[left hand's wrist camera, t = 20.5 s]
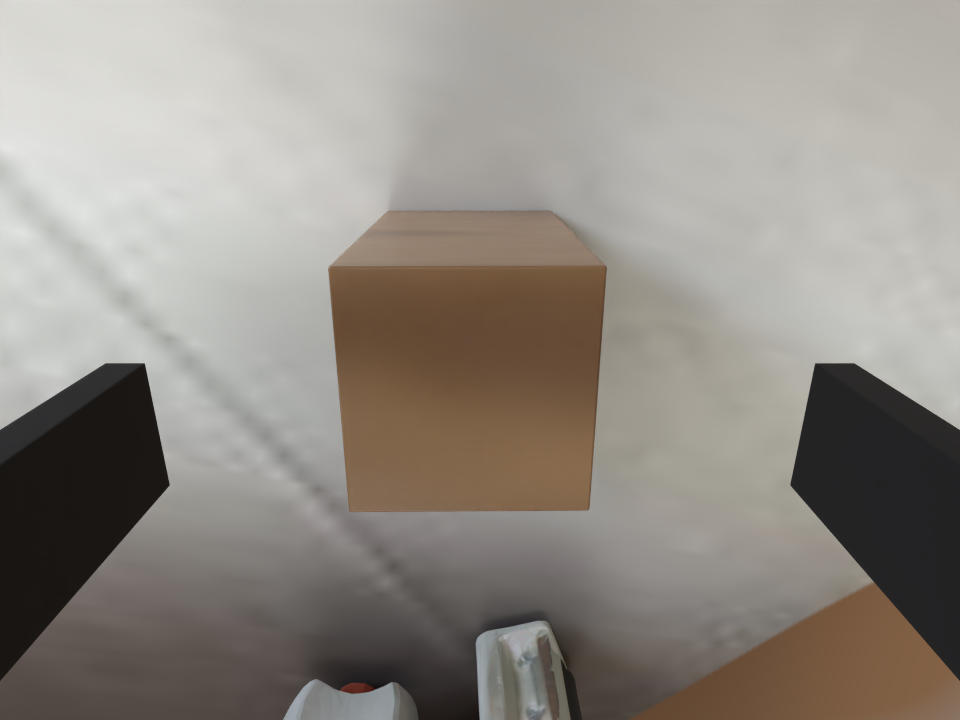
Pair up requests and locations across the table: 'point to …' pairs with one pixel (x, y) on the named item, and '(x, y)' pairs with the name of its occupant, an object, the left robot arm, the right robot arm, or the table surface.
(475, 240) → the block
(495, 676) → the tape dispenser
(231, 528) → the table surface
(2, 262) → the table surface
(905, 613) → the left robot arm
